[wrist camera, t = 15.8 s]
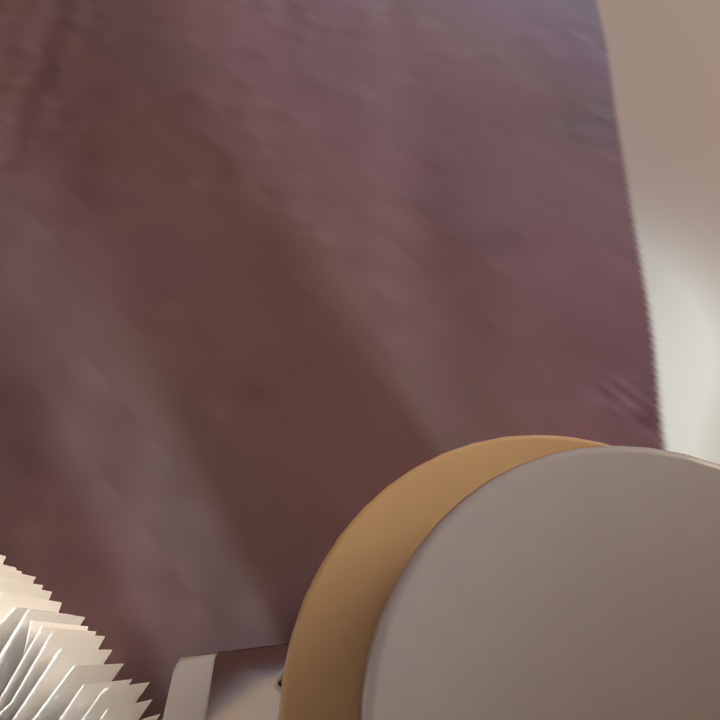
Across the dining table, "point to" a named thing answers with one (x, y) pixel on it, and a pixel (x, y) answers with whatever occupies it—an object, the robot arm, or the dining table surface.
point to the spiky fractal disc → (55, 661)
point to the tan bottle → (520, 591)
